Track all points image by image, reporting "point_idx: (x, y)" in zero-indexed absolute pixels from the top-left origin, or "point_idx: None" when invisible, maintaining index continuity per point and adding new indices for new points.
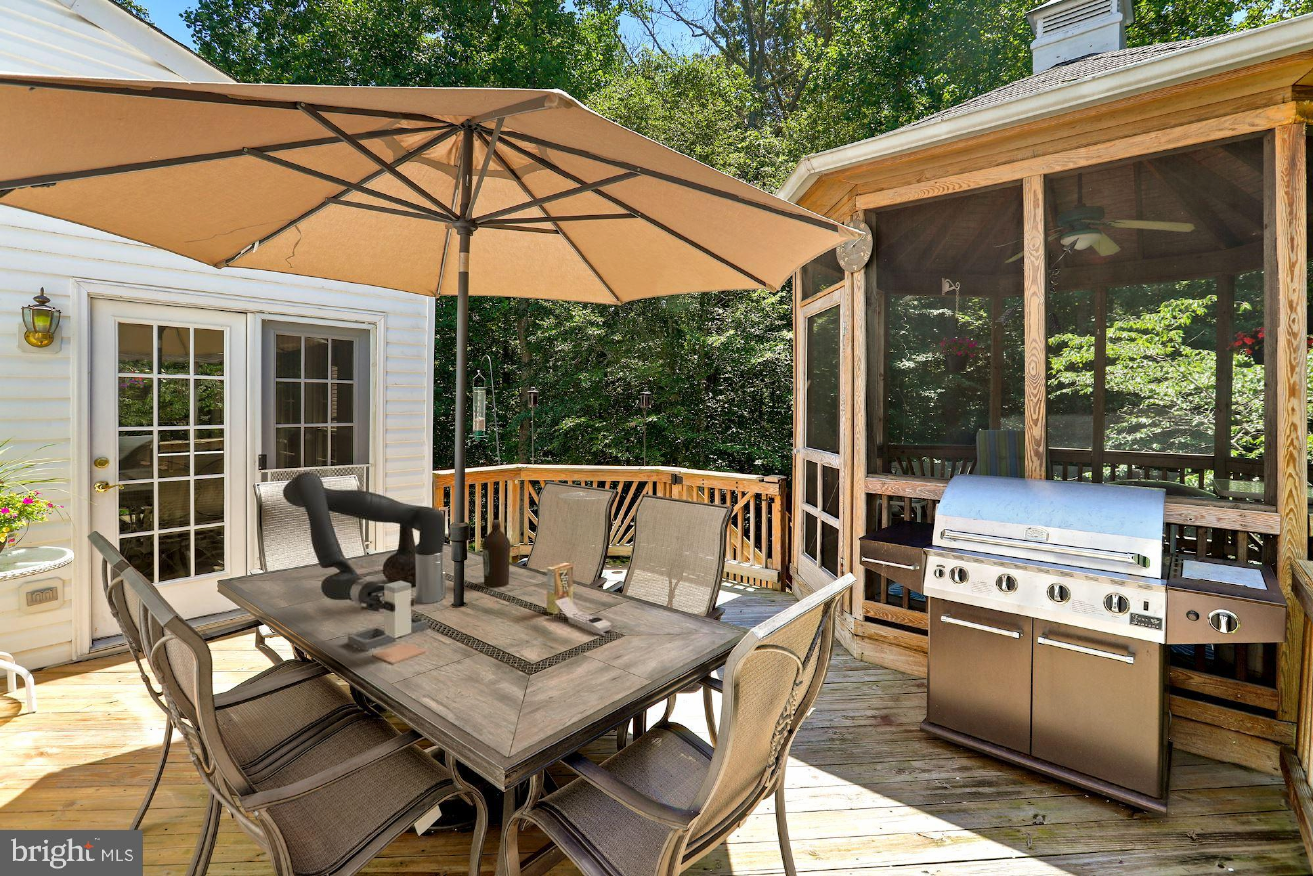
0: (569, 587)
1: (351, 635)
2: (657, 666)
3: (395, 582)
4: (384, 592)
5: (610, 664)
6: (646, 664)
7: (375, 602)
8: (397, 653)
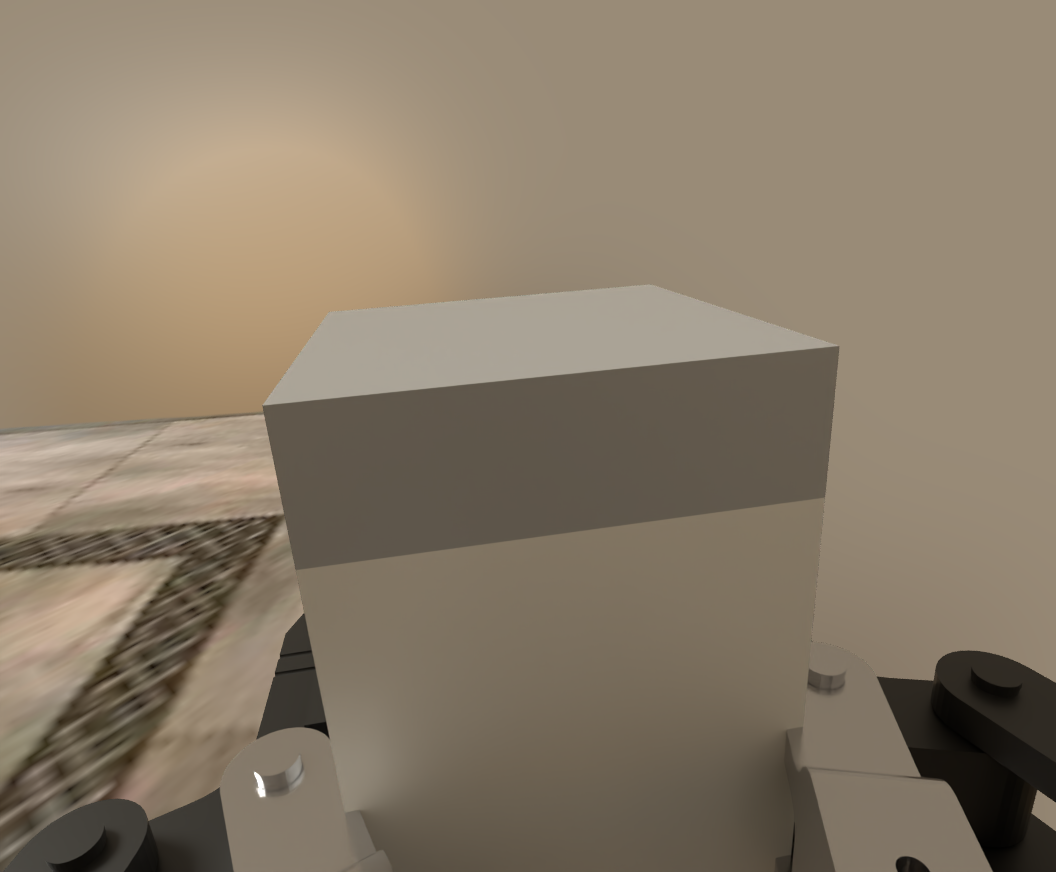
0: None
1: None
2: (76, 441)
3: (496, 367)
4: (818, 562)
5: (100, 476)
6: (70, 451)
7: (1008, 672)
8: None
